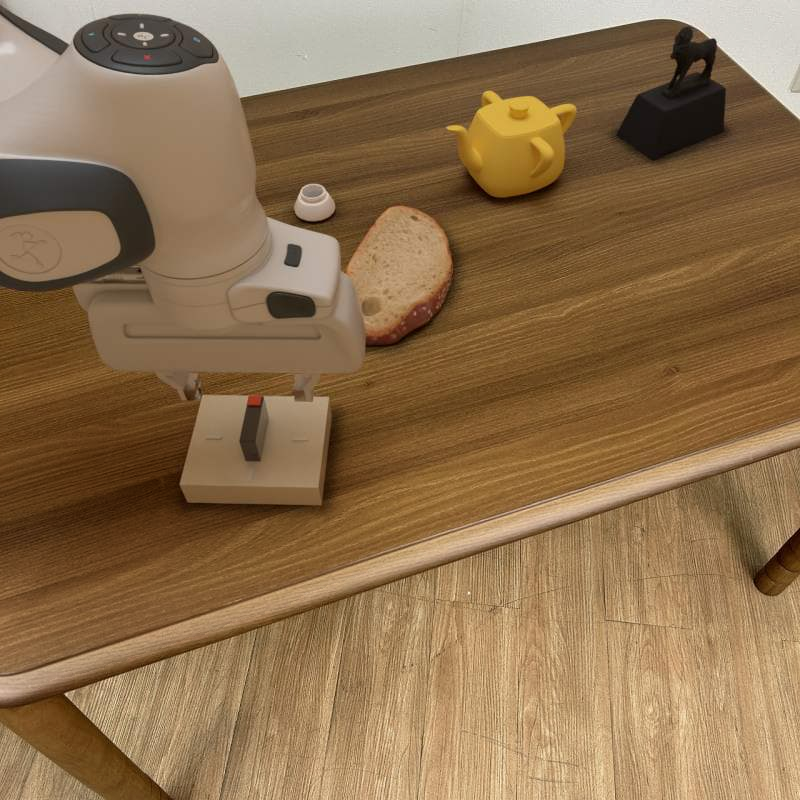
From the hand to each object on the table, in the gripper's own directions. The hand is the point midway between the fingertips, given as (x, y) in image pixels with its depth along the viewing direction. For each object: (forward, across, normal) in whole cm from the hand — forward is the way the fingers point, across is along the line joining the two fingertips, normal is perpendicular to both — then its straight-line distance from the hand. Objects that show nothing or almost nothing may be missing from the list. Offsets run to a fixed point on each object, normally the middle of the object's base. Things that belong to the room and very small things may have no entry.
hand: (248, 395), depth 62 cm
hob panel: (+9, 0, 0) cm, 9 cm away
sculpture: (+10, +47, +55) cm, 73 cm away
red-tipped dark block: (+6, 0, 0) cm, 6 cm away
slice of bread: (+10, +10, +25) cm, 29 cm away
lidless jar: (+10, 0, +37) cm, 38 cm away
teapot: (+10, +24, +44) cm, 51 cm away
